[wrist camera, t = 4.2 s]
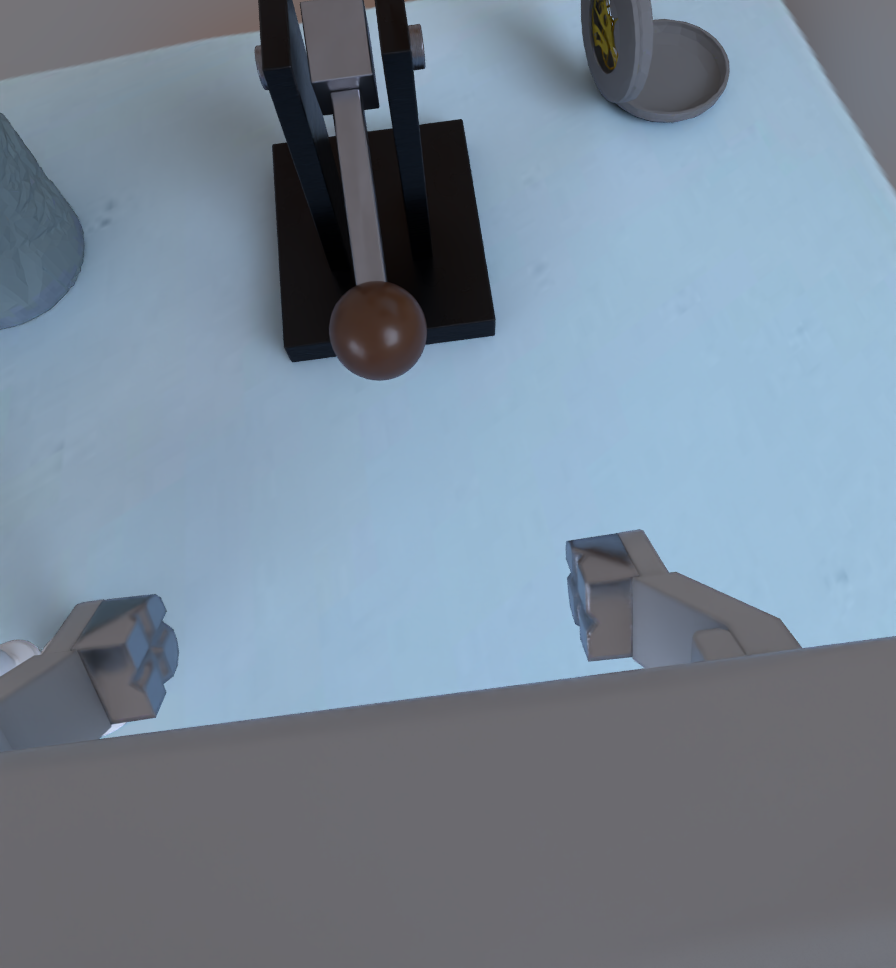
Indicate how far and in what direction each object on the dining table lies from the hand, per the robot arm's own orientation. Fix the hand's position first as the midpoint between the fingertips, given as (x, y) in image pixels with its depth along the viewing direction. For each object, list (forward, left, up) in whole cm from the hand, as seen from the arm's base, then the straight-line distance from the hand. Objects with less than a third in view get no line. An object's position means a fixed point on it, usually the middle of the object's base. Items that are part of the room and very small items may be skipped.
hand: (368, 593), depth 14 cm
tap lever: (-13, +9, -9) cm, 19 cm away
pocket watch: (-15, +29, -17) cm, 36 cm away
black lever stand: (-17, +12, -17) cm, 26 cm away
